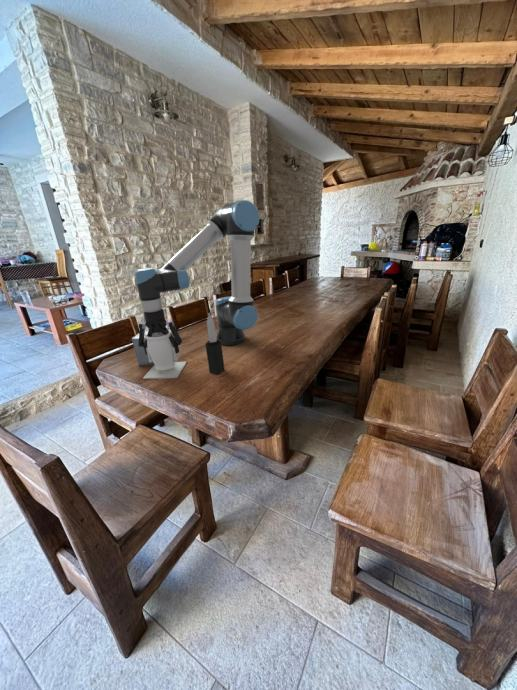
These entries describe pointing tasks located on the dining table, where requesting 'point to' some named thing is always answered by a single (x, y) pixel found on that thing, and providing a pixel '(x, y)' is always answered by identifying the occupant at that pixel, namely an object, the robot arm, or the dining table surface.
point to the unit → (141, 351)
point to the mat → (165, 372)
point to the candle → (214, 349)
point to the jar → (161, 350)
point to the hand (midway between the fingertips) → (164, 360)
